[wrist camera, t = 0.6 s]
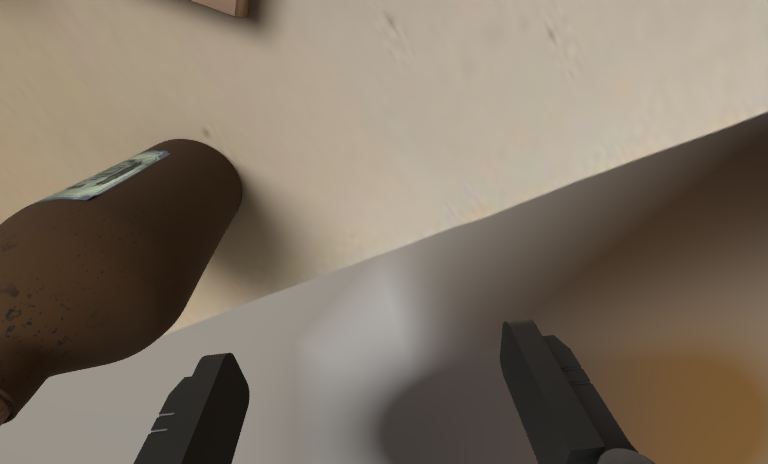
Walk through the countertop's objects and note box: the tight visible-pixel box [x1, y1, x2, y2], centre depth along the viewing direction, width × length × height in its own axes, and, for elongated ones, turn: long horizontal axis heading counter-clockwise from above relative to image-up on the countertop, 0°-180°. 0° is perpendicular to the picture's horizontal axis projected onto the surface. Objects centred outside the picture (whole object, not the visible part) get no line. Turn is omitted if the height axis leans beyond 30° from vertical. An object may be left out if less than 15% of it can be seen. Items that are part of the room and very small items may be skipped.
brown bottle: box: [0, 139, 242, 426], centre depth 24 cm, size 11×11×25 cm
